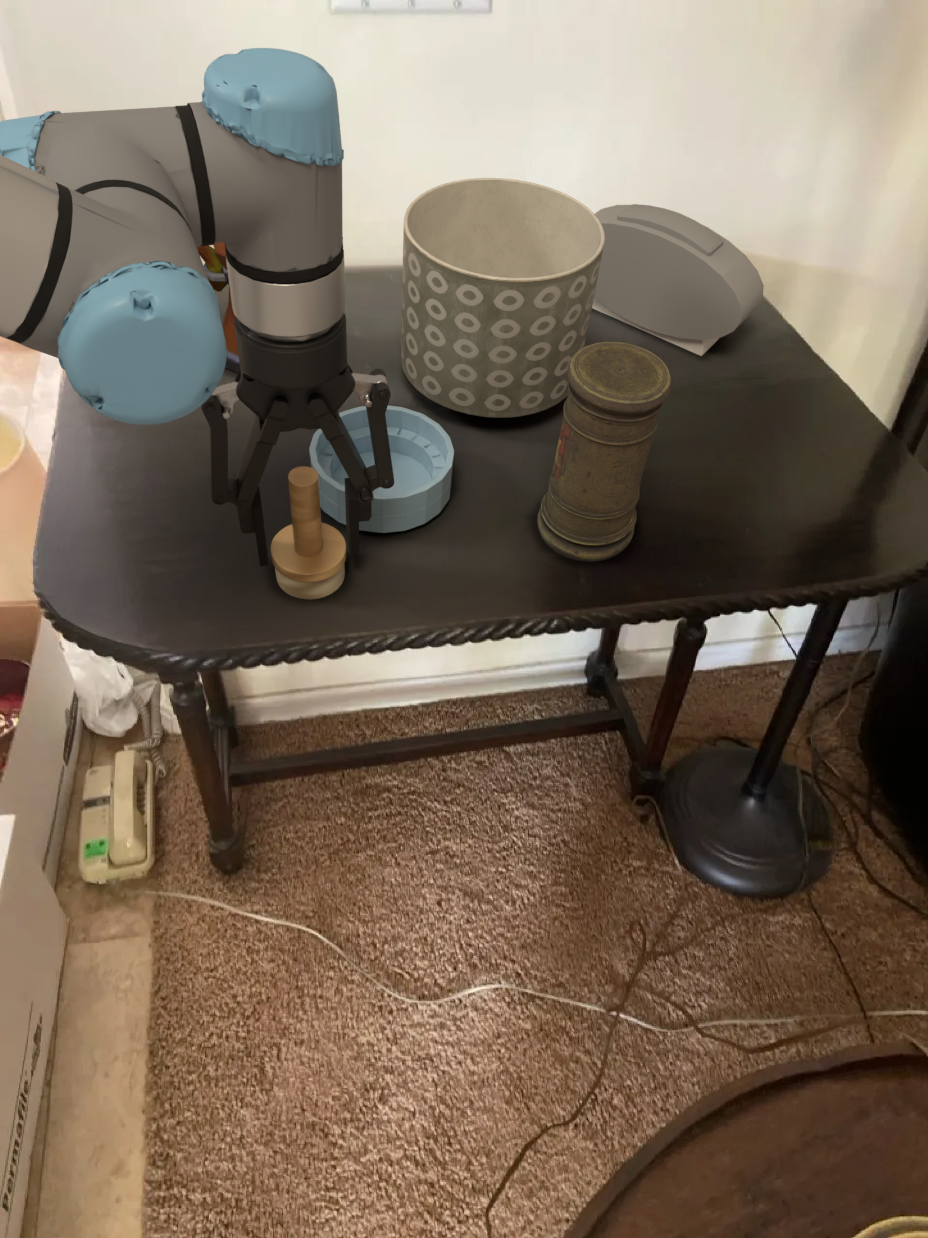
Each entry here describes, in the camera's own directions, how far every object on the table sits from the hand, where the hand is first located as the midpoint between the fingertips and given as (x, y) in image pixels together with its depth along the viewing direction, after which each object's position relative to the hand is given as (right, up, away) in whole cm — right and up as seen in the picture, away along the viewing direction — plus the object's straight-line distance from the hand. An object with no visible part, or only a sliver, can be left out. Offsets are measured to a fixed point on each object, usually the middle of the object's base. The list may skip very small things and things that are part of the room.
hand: (308, 549), depth 83 cm
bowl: (+5, +6, +10) cm, 13 cm away
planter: (+16, +19, +22) cm, 33 cm away
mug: (-11, +23, +23) cm, 34 cm away
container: (+25, +2, +9) cm, 26 cm away
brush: (0, -2, +2) cm, 3 cm away
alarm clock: (+35, +29, +33) cm, 56 cm away
